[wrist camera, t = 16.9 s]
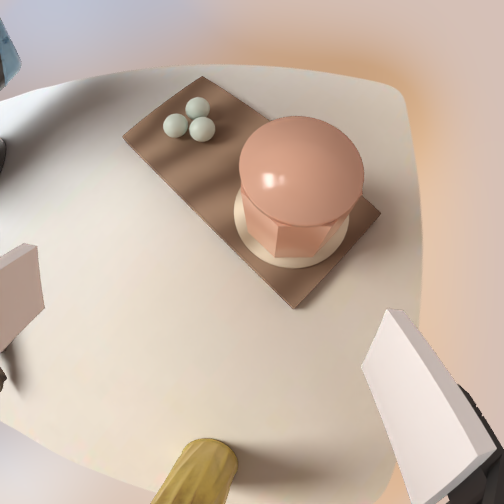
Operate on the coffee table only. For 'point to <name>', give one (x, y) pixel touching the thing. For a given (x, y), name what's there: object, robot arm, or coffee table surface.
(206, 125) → the marble
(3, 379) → the rhino figurine
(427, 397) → the robot arm
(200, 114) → the marble
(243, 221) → the coaster
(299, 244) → the domed lid canister
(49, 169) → the coffee table surface
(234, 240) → the board
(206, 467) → the vase
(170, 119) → the marble
